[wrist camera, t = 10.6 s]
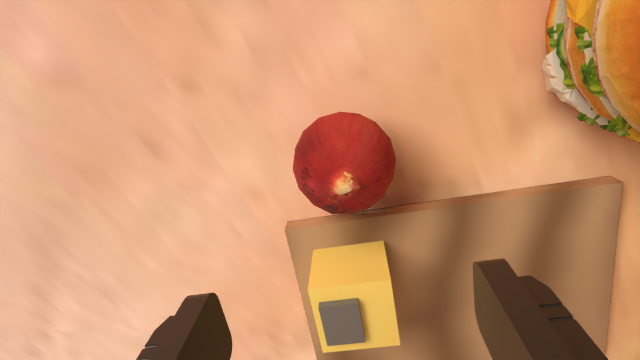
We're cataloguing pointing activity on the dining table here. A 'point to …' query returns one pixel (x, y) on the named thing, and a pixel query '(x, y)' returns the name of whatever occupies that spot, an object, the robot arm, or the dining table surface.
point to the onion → (344, 163)
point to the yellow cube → (353, 297)
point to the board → (470, 246)
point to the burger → (596, 61)
